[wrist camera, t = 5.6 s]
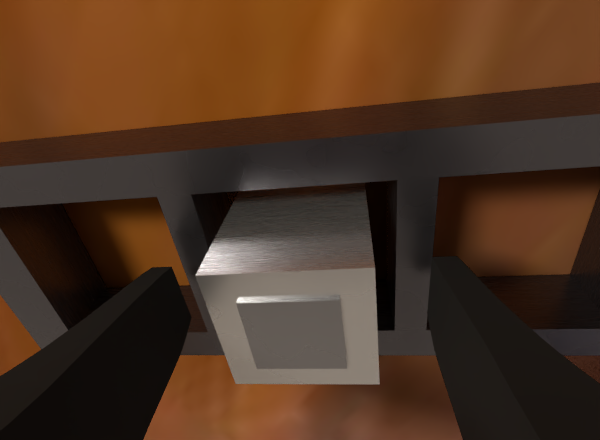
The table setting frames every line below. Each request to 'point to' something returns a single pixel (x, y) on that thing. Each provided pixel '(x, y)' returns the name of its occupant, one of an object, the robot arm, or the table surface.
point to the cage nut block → (295, 286)
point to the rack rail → (300, 173)
